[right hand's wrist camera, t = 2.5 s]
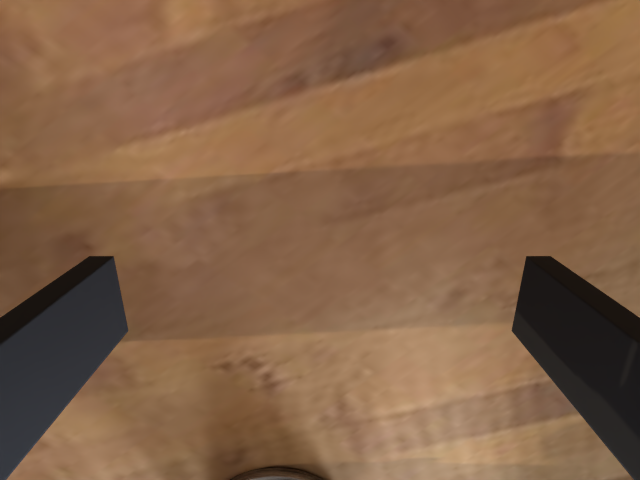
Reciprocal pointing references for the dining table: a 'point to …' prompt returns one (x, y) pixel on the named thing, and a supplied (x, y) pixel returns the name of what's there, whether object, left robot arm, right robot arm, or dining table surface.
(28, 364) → the right robot arm
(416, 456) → the dining table surface
